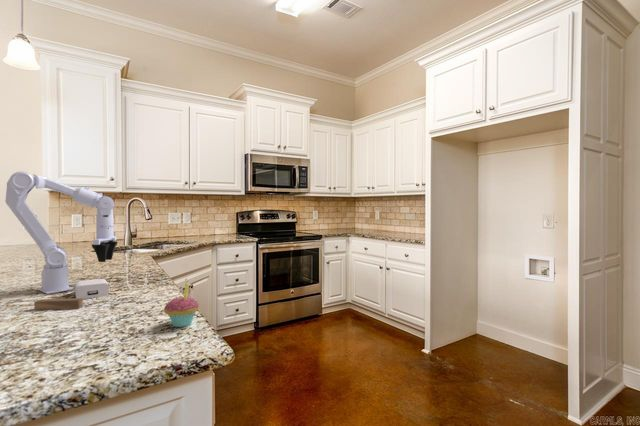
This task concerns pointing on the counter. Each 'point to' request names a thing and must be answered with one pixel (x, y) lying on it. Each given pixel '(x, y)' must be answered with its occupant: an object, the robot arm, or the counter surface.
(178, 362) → the counter surface
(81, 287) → the charger
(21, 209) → the robot arm
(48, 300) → the bar
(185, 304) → the cupcake
